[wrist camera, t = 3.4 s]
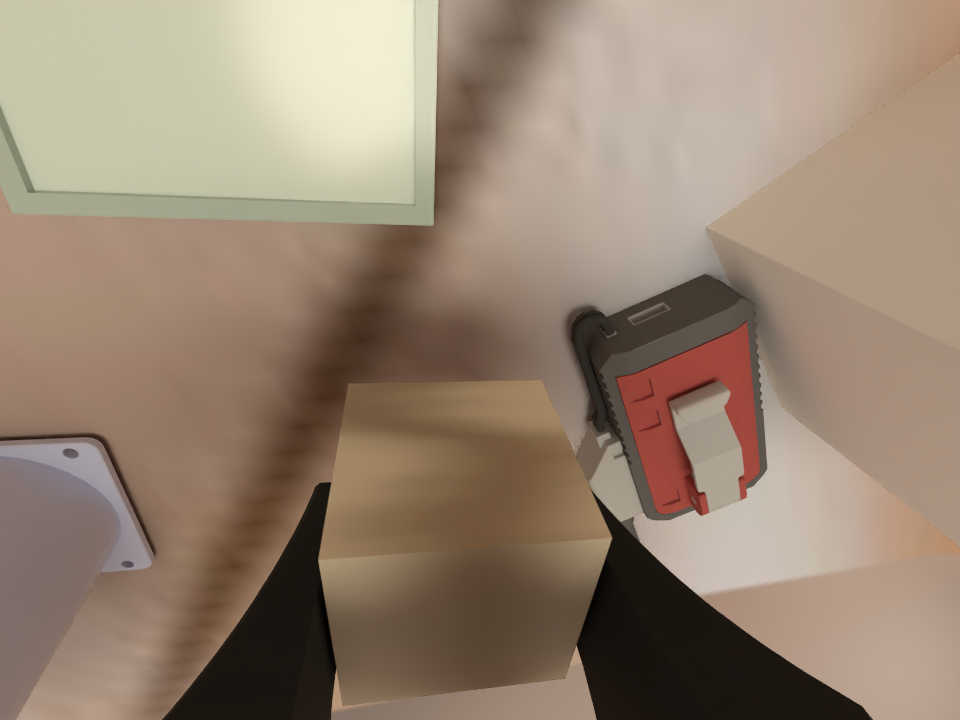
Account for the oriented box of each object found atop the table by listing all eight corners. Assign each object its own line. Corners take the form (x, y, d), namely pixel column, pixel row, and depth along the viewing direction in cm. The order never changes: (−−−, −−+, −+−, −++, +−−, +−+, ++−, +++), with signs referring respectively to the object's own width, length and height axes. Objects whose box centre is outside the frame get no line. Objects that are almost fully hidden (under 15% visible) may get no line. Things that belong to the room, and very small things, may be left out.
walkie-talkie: (516, 326, 20) (619, 566, 31) (546, 385, 16) (651, 635, 27) (714, 237, 19) (747, 515, 30) (792, 278, 15) (798, 579, 26)
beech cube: (360, 518, 14) (342, 705, 10) (348, 383, 12) (317, 560, 8) (519, 508, 15) (565, 678, 11) (541, 379, 12) (612, 537, 8)
